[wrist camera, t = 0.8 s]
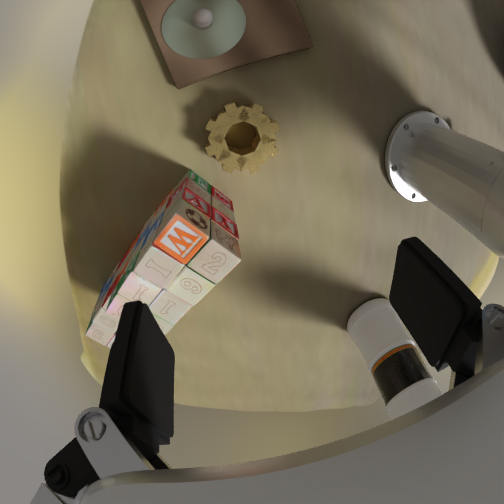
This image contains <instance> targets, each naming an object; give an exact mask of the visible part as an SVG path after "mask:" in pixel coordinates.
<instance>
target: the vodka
mask: <svg viewBox="0 0 504 504" xmlns="http://www.w3.org/2000/svg"><path fill="white" fill-rule="evenodd" d="M347 330H348V333H349V335H350V337H351V338H352V340H353V341H355V343H356V344H357V346H358V348H359V349H360V351H361V353H362V354H363V356H364V358H365V360H366V363H367V365H368V370H369V372H370V373H372V375H373V377H374V380H375V382H376V384H377V386H378V389H379V391H380V393H381V396H382V398H383V400H384V402H385V405H386V410H387V412H388V413H389V416H390V419H391V420H393V419H395V418H397V417H400V416H402V415H404V414H406V413H408V412H410V411H412V410H414V409H416V408H418V407H420V406H422V405H424V404H426V403H428V402H430V401H432V400H434V399H435V398H437V397H439V396H441V395H443V392H442V391H441V389H440V388H439V387H438V385H437V382H436V380H435V379H433V377H432V375H431V374H430V372H429V370H428V368H427V366H426V365H425V363H424V361H423V360H422V358H421V356H420V354H419V353H418V351H417V349H416V348H415V343H414V341H413V340H411V338H410V337H409V335H408V334H407V332H406V331H405V329H404V327H403V326H402V323H401V321H400V319H399V317H398V315H397V313H396V311H395V310H394V308H393V307H392V306H391V304H390V301H389V300H387V299H383V298H377V299H373V300H370V301H368V302H366V303H364V304H362V305H361V306H359V307H358V308H357V309H356V310H355V311H354V312H353V313H352V315H351V316H350V318H349V320H348V324H347Z"/></svg>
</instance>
